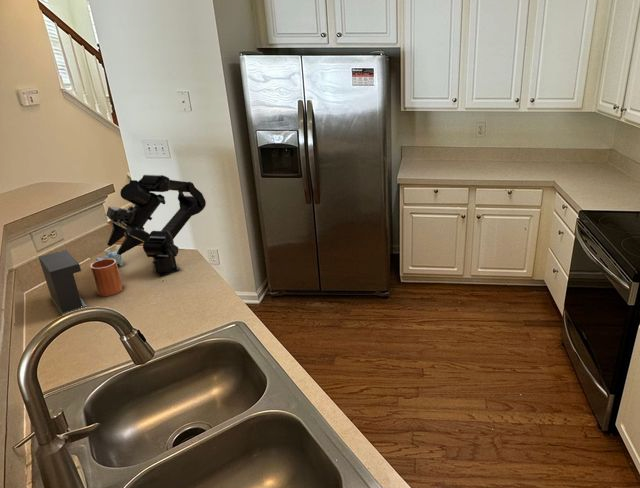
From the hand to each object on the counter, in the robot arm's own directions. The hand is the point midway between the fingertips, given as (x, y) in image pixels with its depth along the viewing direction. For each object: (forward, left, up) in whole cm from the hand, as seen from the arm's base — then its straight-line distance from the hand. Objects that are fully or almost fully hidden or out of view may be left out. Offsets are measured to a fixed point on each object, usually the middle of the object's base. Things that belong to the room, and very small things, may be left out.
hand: (113, 249), depth 138 cm
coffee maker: (+15, 0, -14) cm, 20 cm away
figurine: (-2, -18, -14) cm, 23 cm away
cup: (+4, 0, -14) cm, 14 cm away
